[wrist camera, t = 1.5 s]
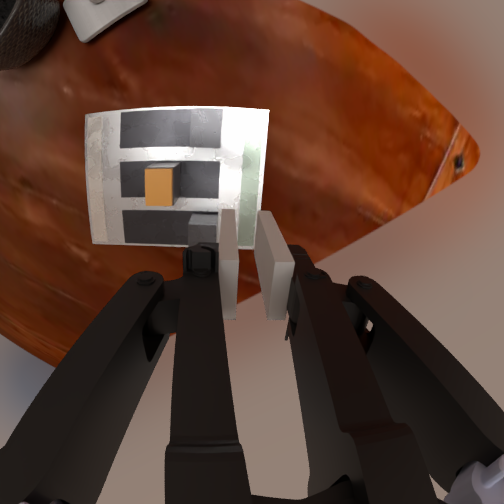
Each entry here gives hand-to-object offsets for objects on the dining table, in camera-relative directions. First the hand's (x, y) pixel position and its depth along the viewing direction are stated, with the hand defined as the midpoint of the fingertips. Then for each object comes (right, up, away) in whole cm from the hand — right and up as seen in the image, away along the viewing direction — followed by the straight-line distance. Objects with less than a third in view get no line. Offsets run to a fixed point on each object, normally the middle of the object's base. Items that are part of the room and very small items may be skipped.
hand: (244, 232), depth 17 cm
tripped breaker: (-9, +7, +14) cm, 18 cm away
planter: (-31, +31, +4) cm, 44 cm away
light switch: (-18, +31, +5) cm, 37 cm away
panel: (-9, +8, +16) cm, 20 cm away
